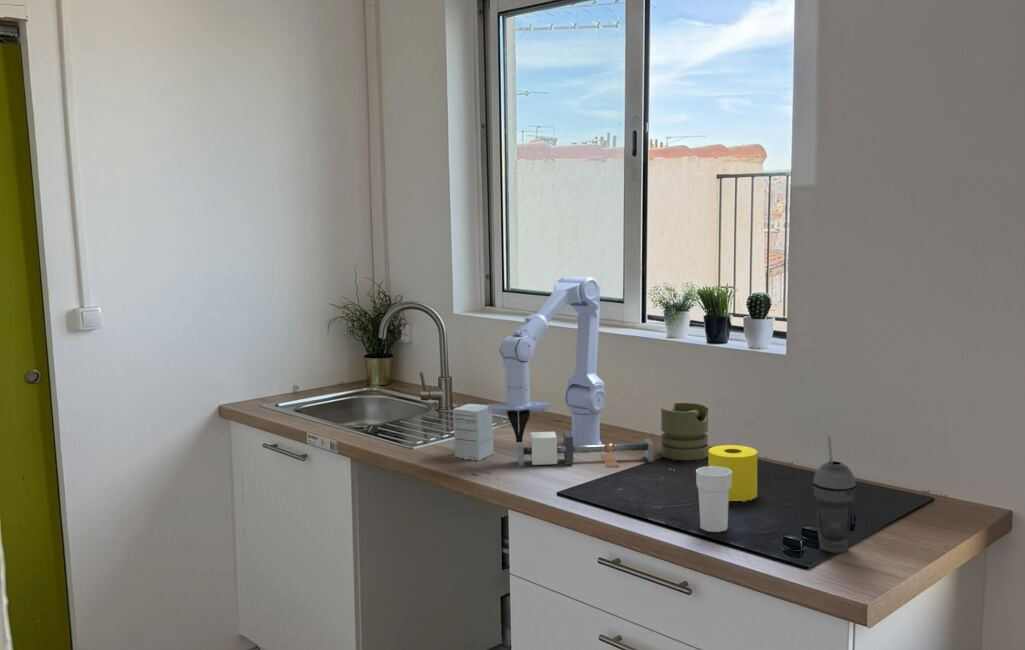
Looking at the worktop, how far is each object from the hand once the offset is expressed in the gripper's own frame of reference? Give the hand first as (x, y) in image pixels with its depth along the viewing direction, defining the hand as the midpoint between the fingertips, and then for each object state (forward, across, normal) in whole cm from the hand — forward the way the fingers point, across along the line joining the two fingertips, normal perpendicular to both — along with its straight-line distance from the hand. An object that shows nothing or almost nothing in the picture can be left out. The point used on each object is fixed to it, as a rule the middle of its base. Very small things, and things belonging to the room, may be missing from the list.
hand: (519, 441), depth 225 cm
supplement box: (+6, -11, +9) cm, 15 cm away
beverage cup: (+6, +53, -63) cm, 83 cm away
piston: (+6, +41, +3) cm, 41 cm away
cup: (+6, +35, -50) cm, 61 cm away
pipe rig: (+6, +16, 0) cm, 17 cm away
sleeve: (+6, +6, 0) cm, 8 cm away
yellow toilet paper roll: (+6, +44, -30) cm, 53 cm away
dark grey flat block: (+6, +12, 0) cm, 13 cm away
